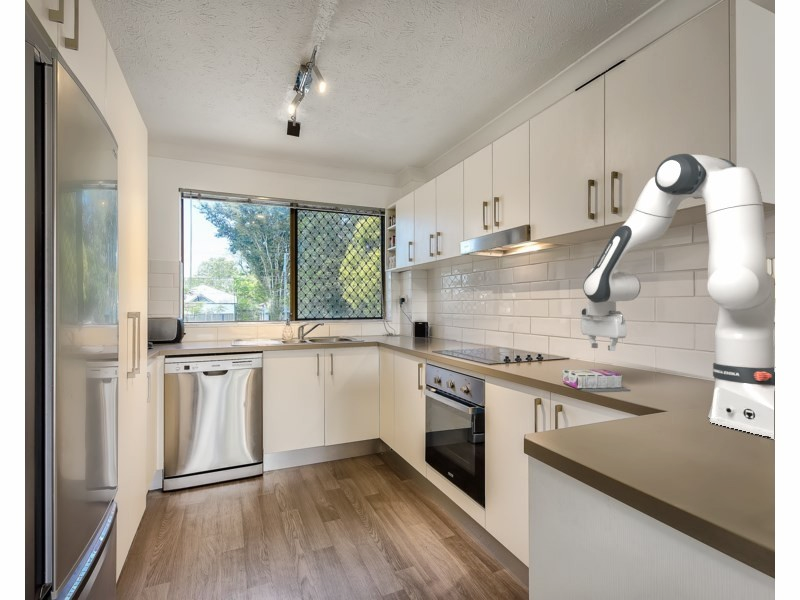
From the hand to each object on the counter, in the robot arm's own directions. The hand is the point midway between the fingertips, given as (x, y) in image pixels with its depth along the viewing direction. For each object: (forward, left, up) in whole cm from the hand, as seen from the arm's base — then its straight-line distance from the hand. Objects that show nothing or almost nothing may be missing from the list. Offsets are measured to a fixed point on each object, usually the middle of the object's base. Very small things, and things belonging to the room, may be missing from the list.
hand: (602, 349), depth 141 cm
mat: (0, +2, -14) cm, 14 cm away
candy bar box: (+1, -5, -11) cm, 12 cm away
